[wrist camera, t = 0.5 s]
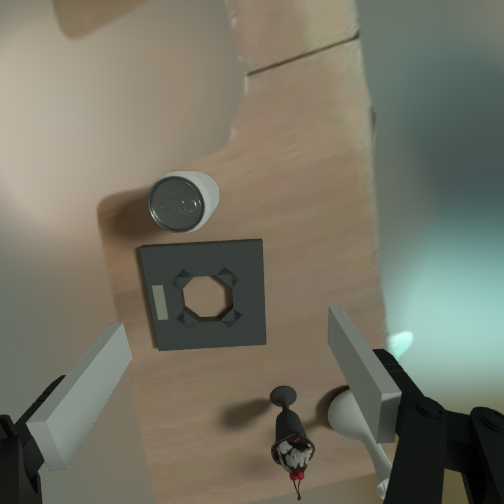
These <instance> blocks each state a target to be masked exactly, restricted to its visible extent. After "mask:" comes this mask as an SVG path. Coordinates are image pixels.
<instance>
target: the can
mask: <svg viewBox="0 0 504 504" xmlns="http://www.w3.org/2000/svg"><path fill="white" fill-rule="evenodd" d="M219 197H220V196H219V189H218V186H217V184H216V183H215V181H214V180H213V179H212V178H211V177H210V176H209V175H207V174H205V173H202V172H198V171H176V172H170V173H167V174H165V175H163V176H162V177H160V178H159V179H158V180H157V181H156V182H155V183H154V185H153V187H152V189H151V190H150V193H149V196H148V208H149V211H150V214H151V216H152V218H153V219H154V221H155V222H156V223H157V224H158V225H159V226H160V227H162V228H163V229H165V230H167V231H170V232H174V233H188V232H192V231H195V230H197V229H198V228H200V227H201V226H202V225H203V224H204V223H205V222H206V221H207V220H208V218H209V217H210V216H211V215H212V213H213V212H214V210H215V209H216V207H217V206H218V203H219Z"/></svg>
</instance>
